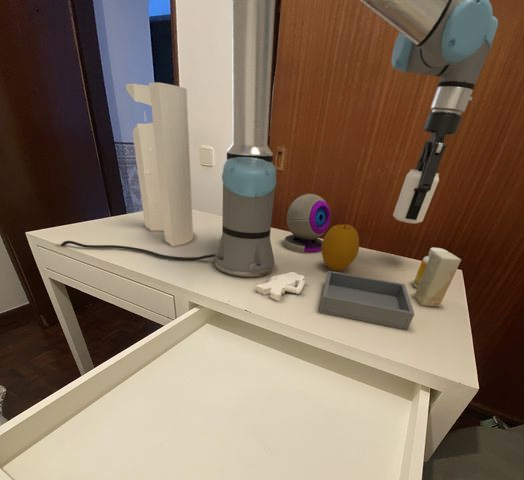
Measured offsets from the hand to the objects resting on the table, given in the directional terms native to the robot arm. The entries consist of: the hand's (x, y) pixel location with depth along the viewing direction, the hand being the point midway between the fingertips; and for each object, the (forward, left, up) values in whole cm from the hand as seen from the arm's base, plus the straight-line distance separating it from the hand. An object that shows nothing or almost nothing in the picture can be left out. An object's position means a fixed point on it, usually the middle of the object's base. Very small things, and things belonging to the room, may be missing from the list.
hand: (408, 215), depth 84 cm
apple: (-17, -15, -13) cm, 26 cm away
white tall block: (-68, -10, -13) cm, 70 cm away
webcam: (-28, 0, -13) cm, 31 cm away
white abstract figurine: (-28, -34, -13) cm, 46 cm away
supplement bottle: (+6, -17, -13) cm, 22 cm away
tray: (-10, -34, -13) cm, 38 cm away
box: (+5, -26, -13) cm, 30 cm away
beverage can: (0, 0, -1) cm, 1 cm away
